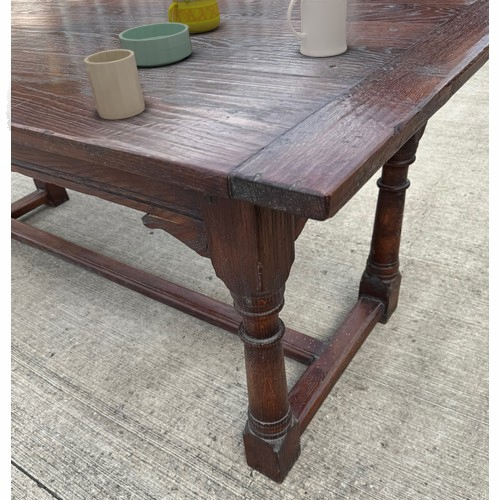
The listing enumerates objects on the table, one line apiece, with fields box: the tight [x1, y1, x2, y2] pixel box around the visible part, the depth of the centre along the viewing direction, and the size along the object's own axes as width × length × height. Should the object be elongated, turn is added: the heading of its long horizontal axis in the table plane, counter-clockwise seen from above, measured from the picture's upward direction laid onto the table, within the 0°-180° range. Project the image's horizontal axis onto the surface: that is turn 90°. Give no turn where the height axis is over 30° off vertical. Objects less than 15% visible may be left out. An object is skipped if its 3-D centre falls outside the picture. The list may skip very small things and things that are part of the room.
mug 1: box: [167, 0, 221, 35], centre depth 112 cm, size 13×11×12 cm
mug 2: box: [286, 0, 348, 58], centre depth 90 cm, size 12×8×12 cm
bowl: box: [117, 22, 193, 68], centre depth 98 cm, size 13×13×5 cm
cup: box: [83, 48, 146, 120], centre depth 74 cm, size 7×7×8 cm
